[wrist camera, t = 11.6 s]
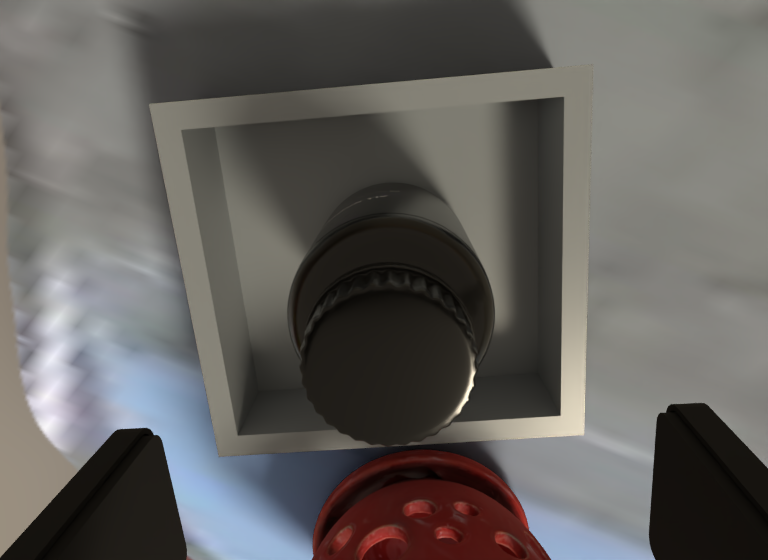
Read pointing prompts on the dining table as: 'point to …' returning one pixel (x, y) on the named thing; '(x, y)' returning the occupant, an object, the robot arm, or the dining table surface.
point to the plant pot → (424, 513)
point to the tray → (363, 169)
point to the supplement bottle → (390, 316)
